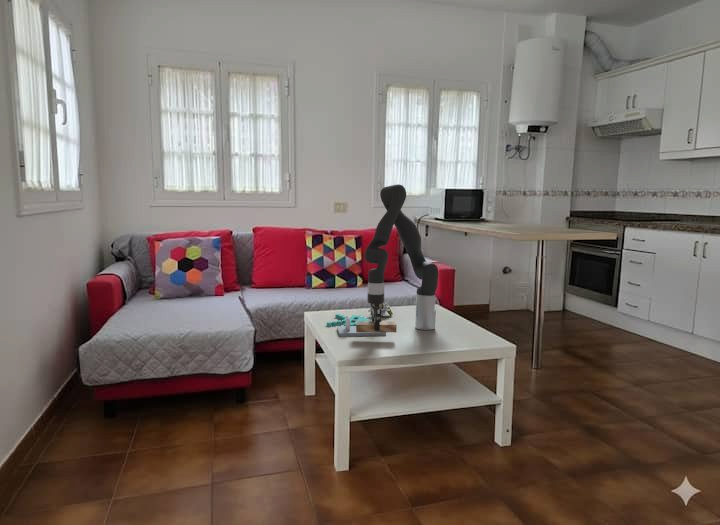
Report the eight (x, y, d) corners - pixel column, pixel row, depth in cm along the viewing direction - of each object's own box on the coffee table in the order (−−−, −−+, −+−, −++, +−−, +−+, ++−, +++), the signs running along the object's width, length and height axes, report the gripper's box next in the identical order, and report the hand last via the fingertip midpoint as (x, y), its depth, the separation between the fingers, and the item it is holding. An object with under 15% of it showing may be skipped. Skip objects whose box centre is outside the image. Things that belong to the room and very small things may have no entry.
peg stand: (381, 328, 241) (381, 313, 240) (386, 335, 229) (386, 319, 228) (337, 329, 238) (337, 314, 237) (339, 336, 226) (339, 320, 225)
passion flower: (378, 327, 263) (366, 310, 260) (378, 319, 273) (366, 302, 270) (396, 317, 261) (383, 300, 258) (395, 309, 271) (383, 292, 268)
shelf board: (395, 328, 223) (395, 321, 223) (396, 332, 217) (396, 324, 217) (356, 328, 223) (356, 321, 223) (356, 332, 217) (356, 324, 217)
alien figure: (326, 327, 243) (365, 330, 239) (326, 323, 243) (365, 325, 239) (336, 317, 262) (372, 320, 258) (336, 313, 262) (372, 316, 258)
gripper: (387, 295, 211) (386, 332, 214) (381, 288, 225) (380, 323, 228) (370, 295, 210) (370, 333, 213) (365, 289, 224) (364, 324, 227)
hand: (375, 328), depth 220 cm, fingers closed on shelf board, 6 cm apart
